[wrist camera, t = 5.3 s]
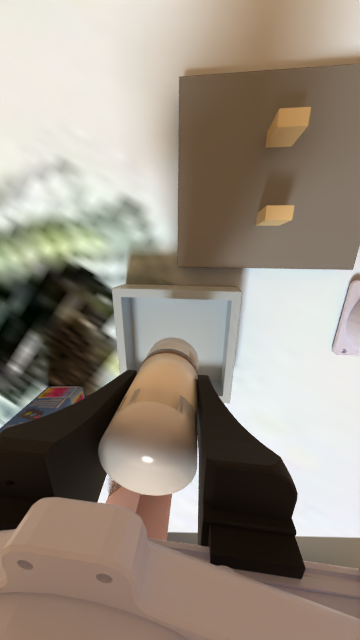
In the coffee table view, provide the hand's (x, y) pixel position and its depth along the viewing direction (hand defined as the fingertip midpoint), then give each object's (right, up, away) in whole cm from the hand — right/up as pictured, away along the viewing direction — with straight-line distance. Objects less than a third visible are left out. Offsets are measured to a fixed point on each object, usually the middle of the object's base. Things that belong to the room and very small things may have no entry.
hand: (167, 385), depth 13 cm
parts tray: (+1, +2, +10) cm, 10 cm away
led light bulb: (0, +1, +3) cm, 3 cm away
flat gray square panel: (+9, +16, +5) cm, 19 cm away
